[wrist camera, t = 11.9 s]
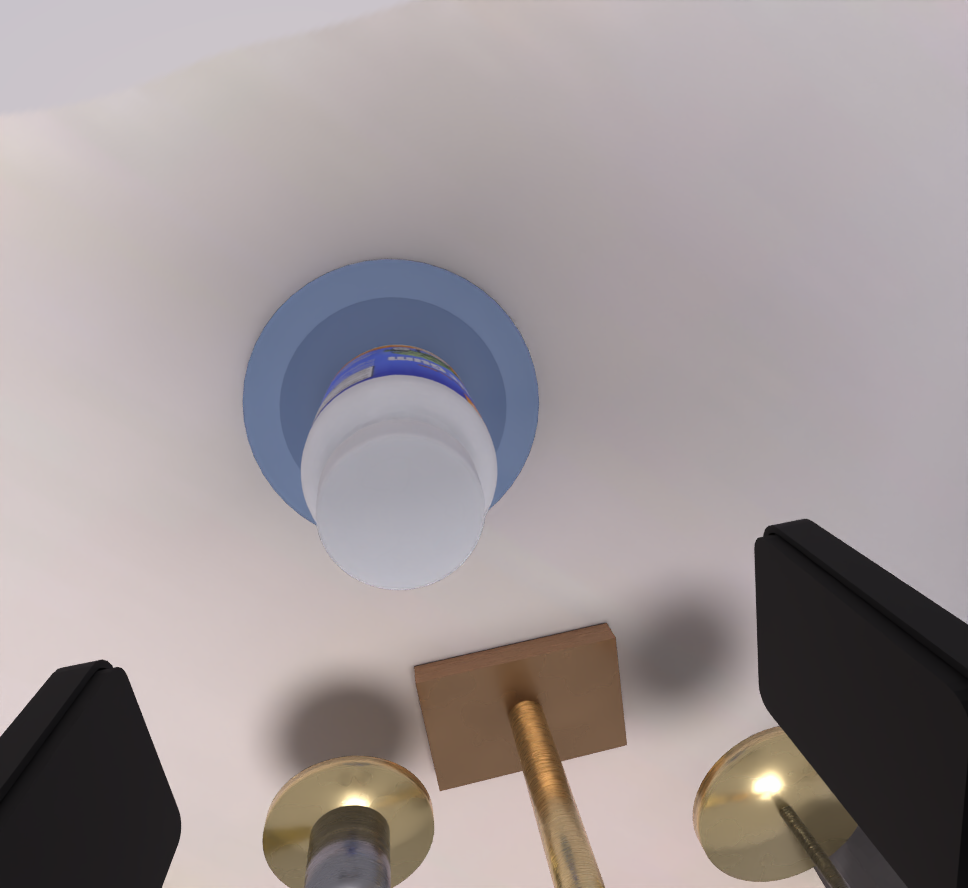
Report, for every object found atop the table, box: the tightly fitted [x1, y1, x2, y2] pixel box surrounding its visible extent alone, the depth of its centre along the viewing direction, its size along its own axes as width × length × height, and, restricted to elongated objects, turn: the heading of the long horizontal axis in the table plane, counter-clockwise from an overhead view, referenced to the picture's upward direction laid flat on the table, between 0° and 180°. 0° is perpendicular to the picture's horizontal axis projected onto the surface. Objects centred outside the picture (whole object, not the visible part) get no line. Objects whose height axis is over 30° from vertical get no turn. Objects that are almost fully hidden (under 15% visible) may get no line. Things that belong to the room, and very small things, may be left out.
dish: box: [243, 259, 539, 526], centre depth 25 cm, size 11×11×1 cm
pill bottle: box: [301, 345, 497, 590], centre depth 20 cm, size 5×5×10 cm
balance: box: [263, 623, 858, 888], centre depth 22 cm, size 22×6×18 cm, turn 99°
